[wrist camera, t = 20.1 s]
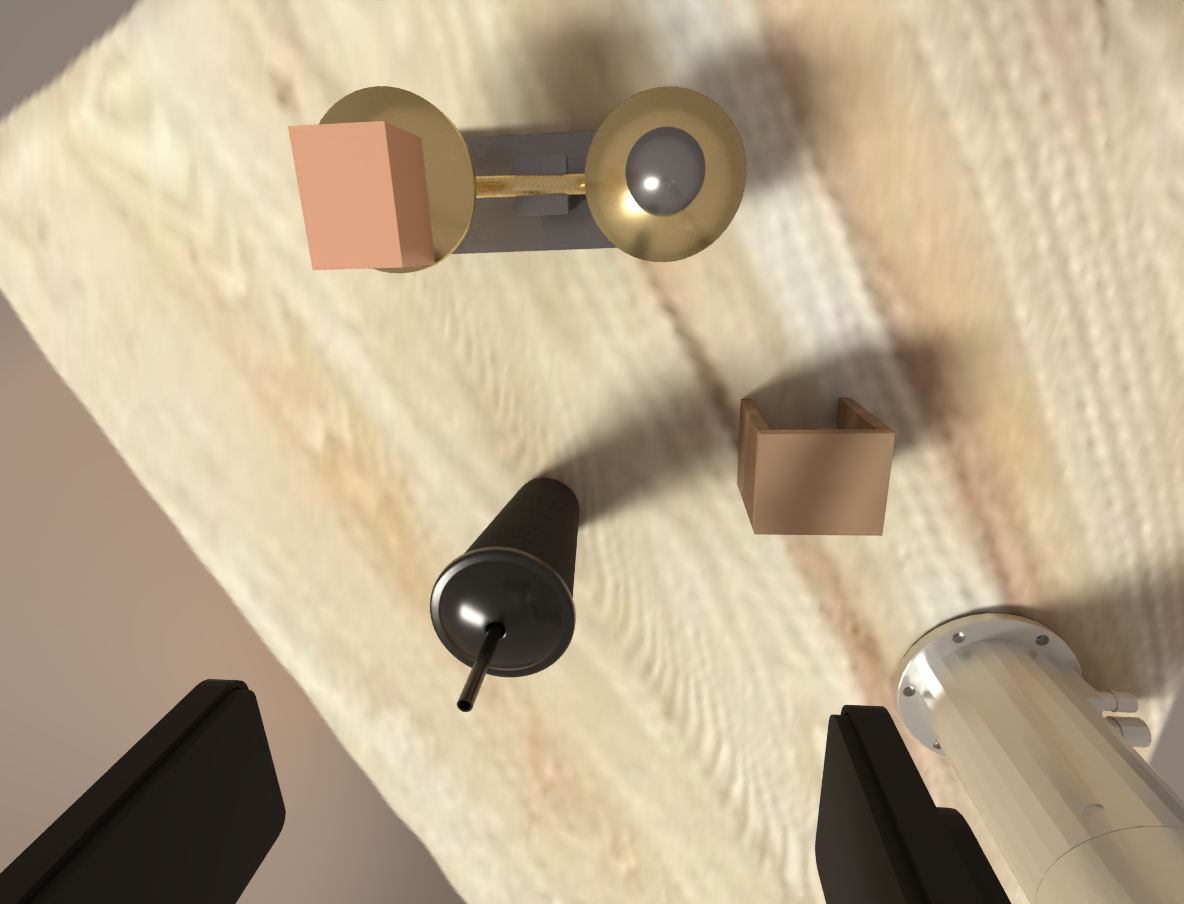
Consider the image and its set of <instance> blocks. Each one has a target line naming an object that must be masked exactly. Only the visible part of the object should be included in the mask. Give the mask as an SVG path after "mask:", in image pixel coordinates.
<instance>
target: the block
mask: <svg viewBox="0 0 1184 904" xmlns="http://www.w3.org/2000/svg"><path fill="white" fill-rule="evenodd" d="M288 128H289V134H290V140H291V146H292V152H293V158H294V163H295V169H296V175H297V181H298V187H299V193H300V198H301V204H302V210H303V216H304V222H305V228H306V233H307V239H308V245H309V251H310V257H311V263H312V268H313V270H333V269H366V268H399V267H413V266H425V265H435V258H434V248H433V239H432V230H431V221H430V212H429V203H428V193H427V184H426V175H425V166H424V157H423V148H422V138H420V137H418V136H416V135H414V134H412V133H409V132H407V131H405V130H403V129H401V128H399V127H396V126H394V125H392V124H390V123H388V122H386V121H373V122H355V123H338V124H320V125H302V126H288Z"/></svg>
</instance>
